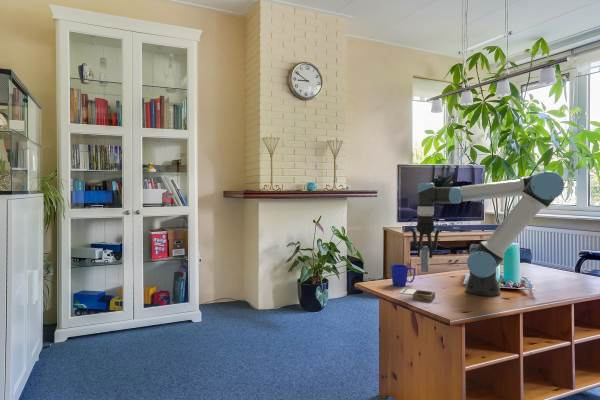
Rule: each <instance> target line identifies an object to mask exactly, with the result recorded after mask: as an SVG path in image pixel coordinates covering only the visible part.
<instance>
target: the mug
mask: <svg viewBox="0 0 600 400" xmlns="http://www.w3.org/2000/svg"><path fill="white" fill-rule="evenodd" d="M390 268H391V269H390V270H391V280H392V281H391V282H392V285H394V286H395V287H396V286H397V287H404V286H406V285H407V283H409V284H411V283H413V281H414V280H415V276H416V268H414V267H409V266H408V265H405V264H392V265H391V267H390ZM409 270H413V276H412V280H408V272H409Z"/></svg>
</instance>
